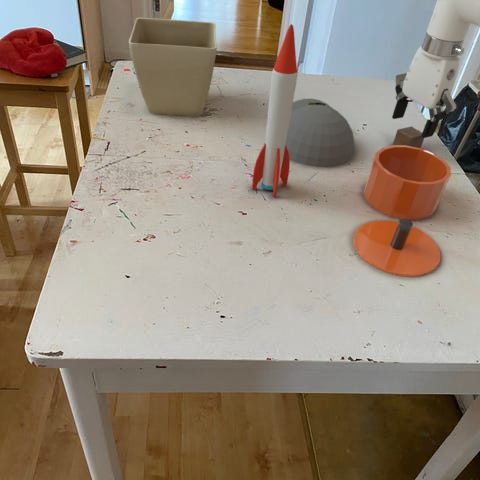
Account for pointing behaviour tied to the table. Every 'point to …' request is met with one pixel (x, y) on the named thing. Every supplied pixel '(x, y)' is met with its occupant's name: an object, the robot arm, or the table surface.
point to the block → (408, 137)
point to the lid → (396, 248)
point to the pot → (406, 182)
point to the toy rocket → (278, 120)
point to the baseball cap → (318, 135)
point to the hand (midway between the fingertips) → (411, 127)
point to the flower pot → (173, 64)
